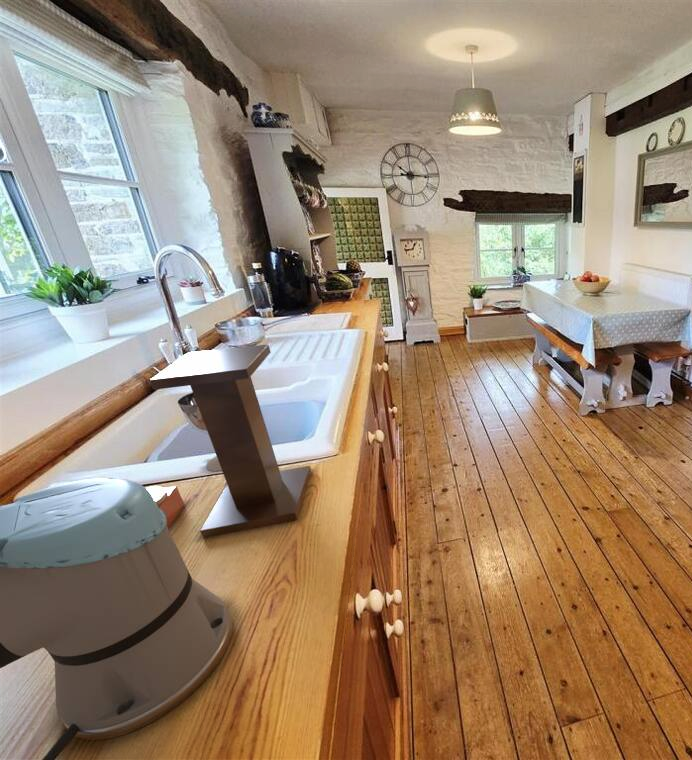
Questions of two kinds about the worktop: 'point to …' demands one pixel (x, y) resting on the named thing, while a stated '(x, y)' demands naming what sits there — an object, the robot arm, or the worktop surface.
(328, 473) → the worktop surface
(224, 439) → the stand
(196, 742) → the worktop surface
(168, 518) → the reddish brown long piece
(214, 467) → the wine glass
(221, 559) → the worktop surface
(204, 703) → the worktop surface
